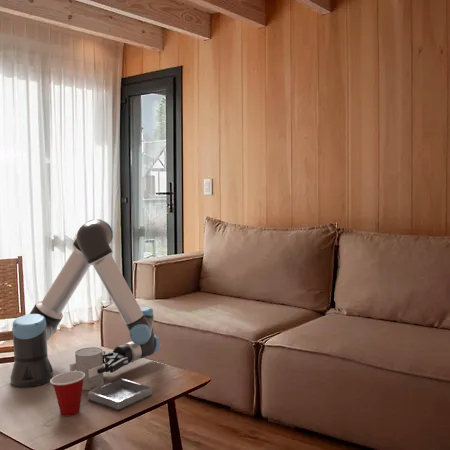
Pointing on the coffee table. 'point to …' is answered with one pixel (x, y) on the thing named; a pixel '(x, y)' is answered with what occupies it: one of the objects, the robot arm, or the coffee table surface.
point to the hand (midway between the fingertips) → (79, 370)
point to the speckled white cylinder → (89, 366)
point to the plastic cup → (68, 391)
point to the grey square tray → (119, 394)
